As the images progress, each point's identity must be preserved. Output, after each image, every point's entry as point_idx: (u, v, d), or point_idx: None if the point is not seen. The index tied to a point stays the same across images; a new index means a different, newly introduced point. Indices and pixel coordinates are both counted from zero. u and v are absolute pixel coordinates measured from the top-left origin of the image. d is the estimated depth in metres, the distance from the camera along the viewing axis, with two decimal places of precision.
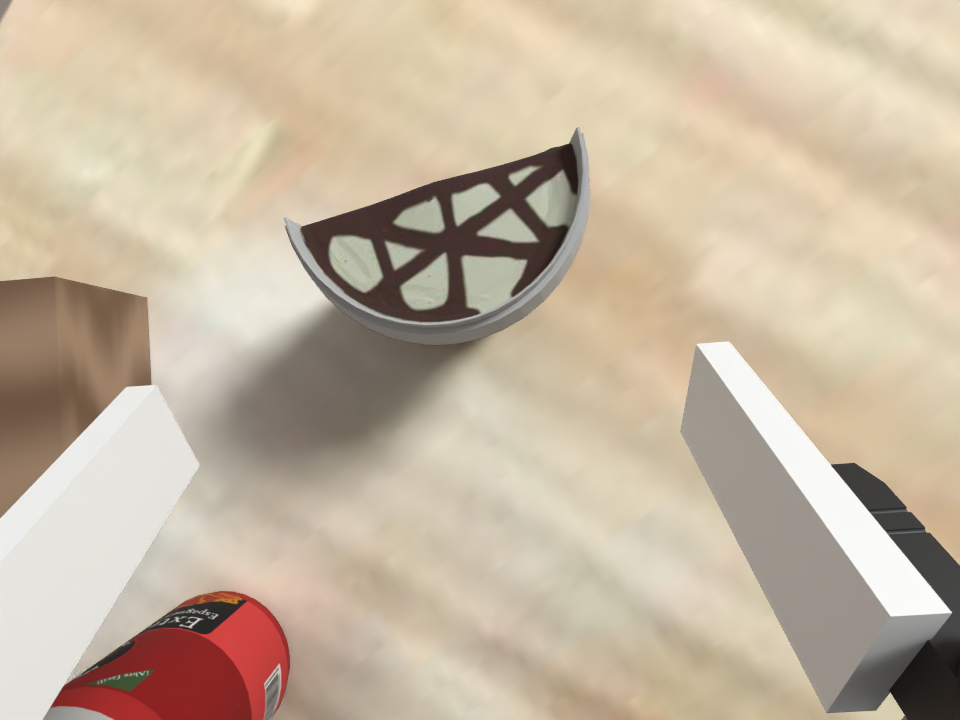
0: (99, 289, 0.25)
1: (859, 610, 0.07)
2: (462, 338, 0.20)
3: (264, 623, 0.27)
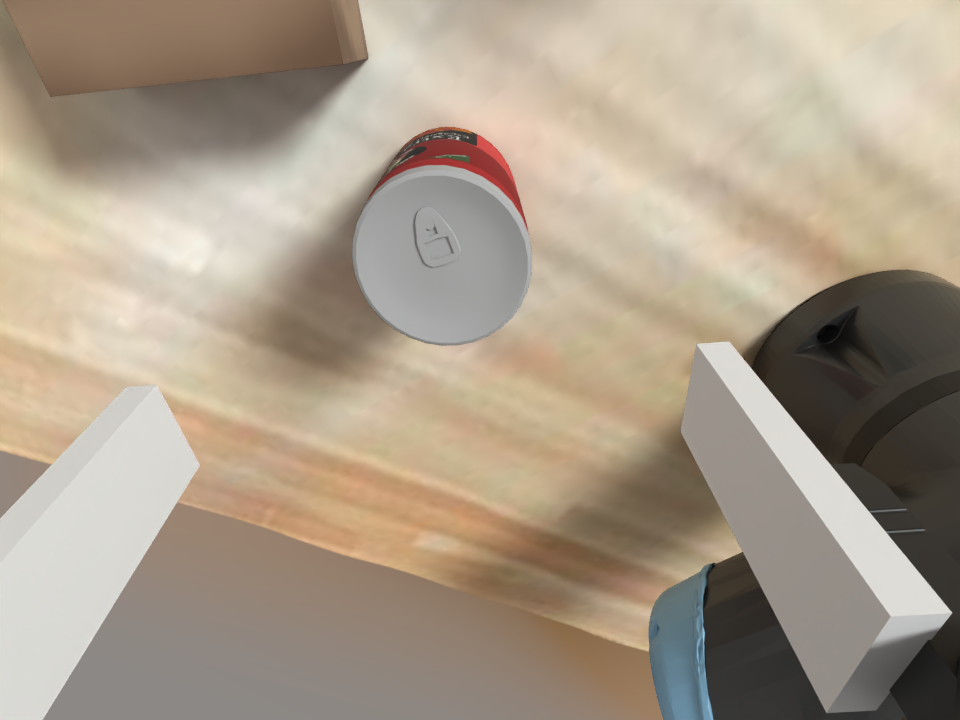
0: None
1: (859, 610, 0.07)
2: None
3: (498, 153, 0.28)
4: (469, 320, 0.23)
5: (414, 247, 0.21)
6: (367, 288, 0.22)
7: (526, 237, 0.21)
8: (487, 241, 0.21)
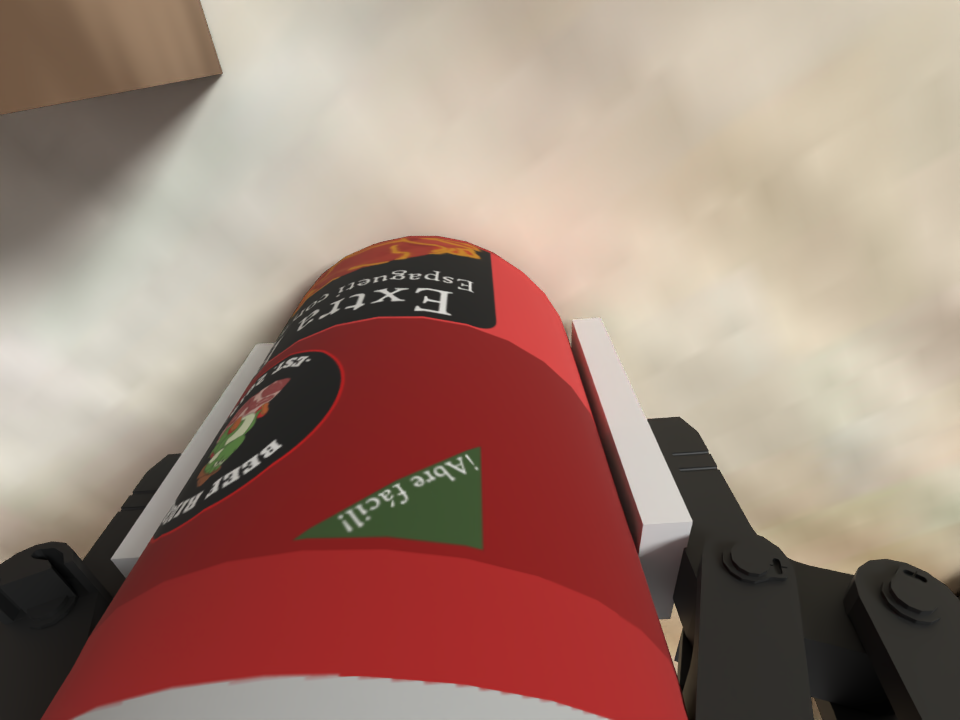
0: None
1: (634, 525, 0.08)
2: None
3: (541, 297, 0.12)
4: None
5: None
6: None
7: None
8: None
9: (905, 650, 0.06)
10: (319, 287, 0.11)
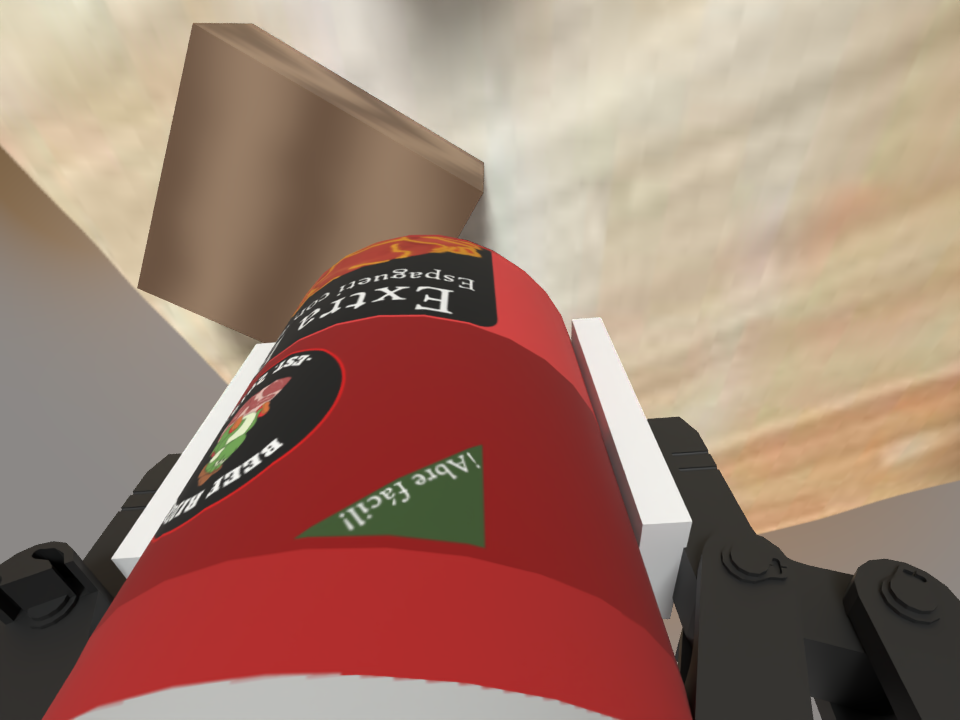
0: (224, 25, 0.22)
1: (634, 525, 0.08)
2: None
3: (542, 296, 0.12)
4: None
5: None
6: None
7: None
8: None
9: (905, 650, 0.06)
10: (320, 286, 0.11)
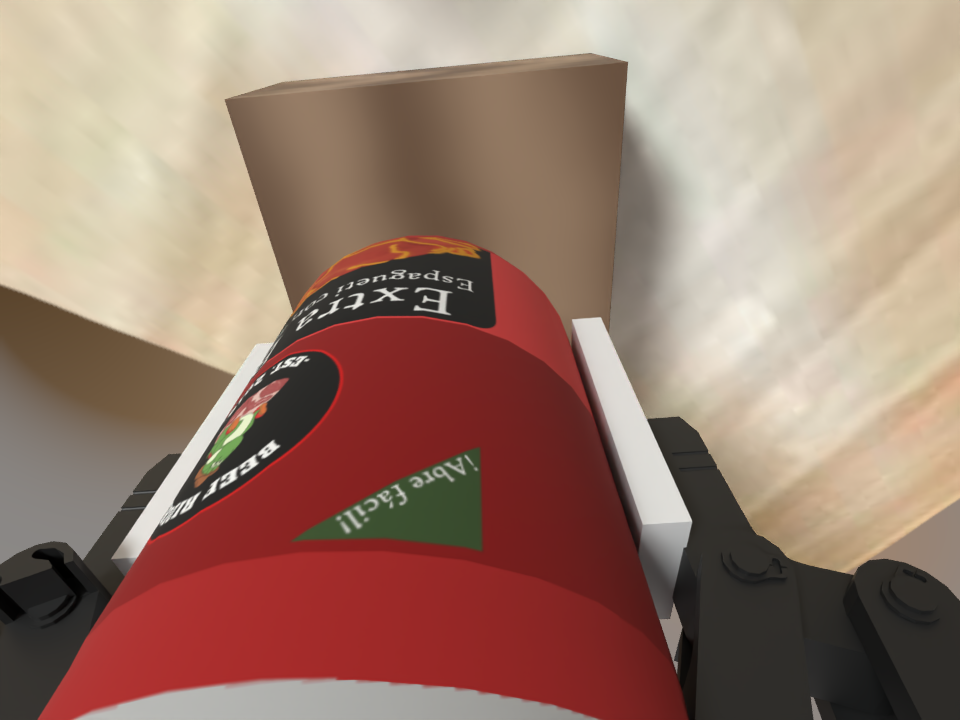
0: (256, 90, 0.18)
1: (633, 525, 0.08)
2: None
3: (541, 297, 0.12)
4: None
5: None
6: None
7: None
8: None
9: (904, 650, 0.06)
10: (318, 287, 0.11)
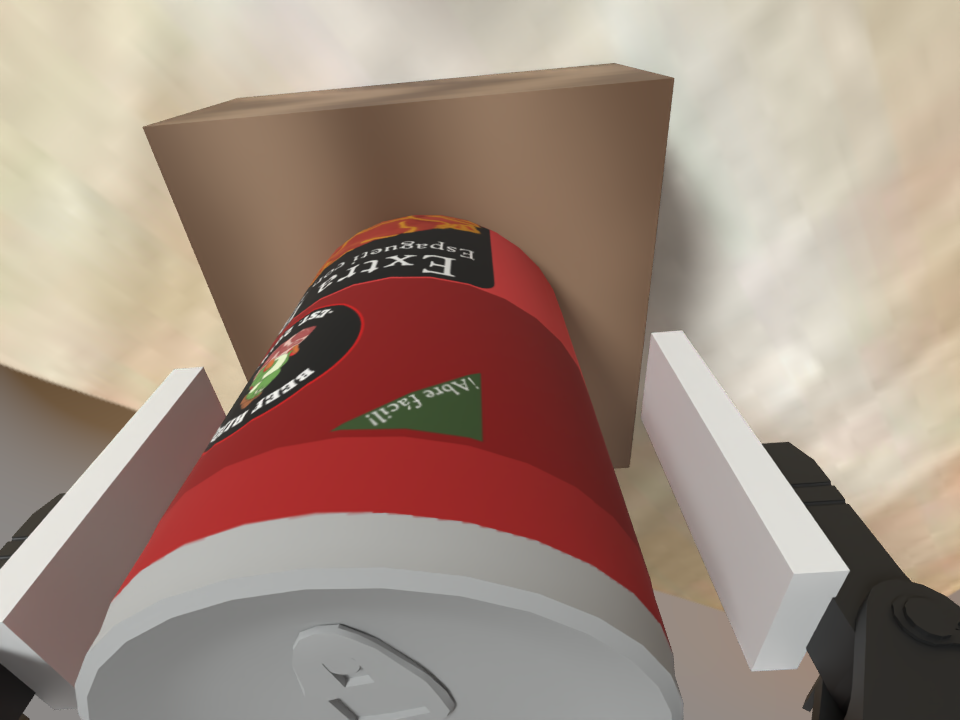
0: (195, 111, 0.15)
1: (772, 571, 0.07)
2: None
3: (535, 270, 0.13)
4: None
5: (303, 698, 0.06)
6: None
7: (678, 701, 0.06)
8: (542, 683, 0.06)
9: None
10: (334, 259, 0.12)
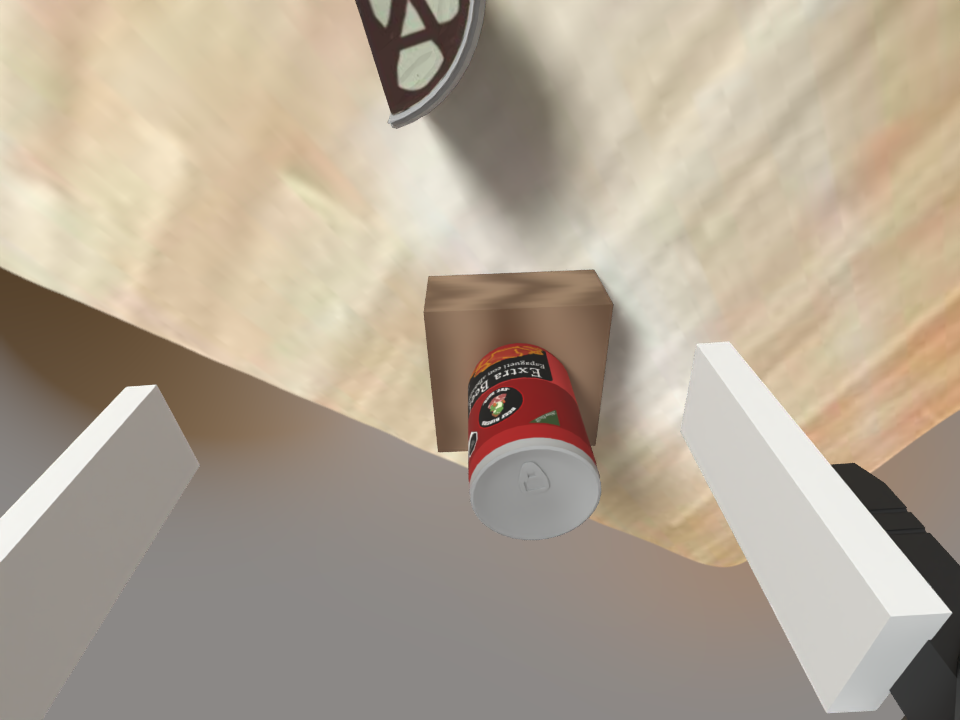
0: (427, 295, 0.37)
1: (859, 610, 0.07)
2: None
3: (561, 366, 0.36)
4: (547, 524, 0.31)
5: (516, 483, 0.29)
6: (477, 507, 0.29)
7: (599, 482, 0.28)
8: (570, 480, 0.29)
9: None
10: (492, 362, 0.34)
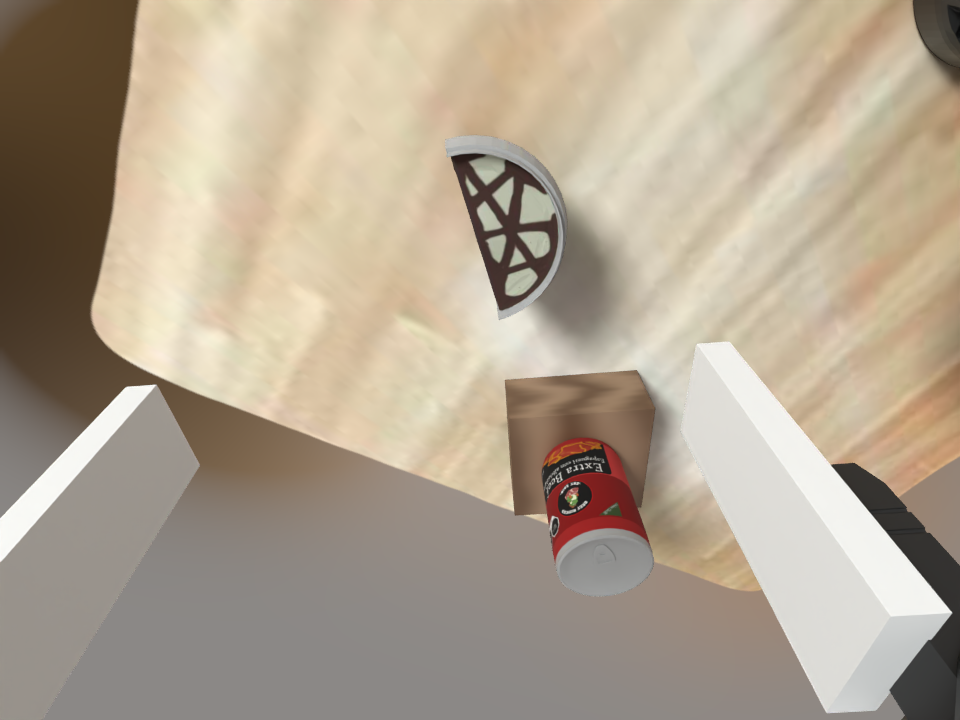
0: (508, 401, 0.47)
1: (859, 610, 0.07)
2: (566, 220, 0.33)
3: (615, 455, 0.46)
4: (613, 585, 0.41)
5: (590, 558, 0.39)
6: (562, 575, 0.40)
7: (652, 557, 0.39)
8: (630, 555, 0.39)
9: None
10: (562, 456, 0.45)
